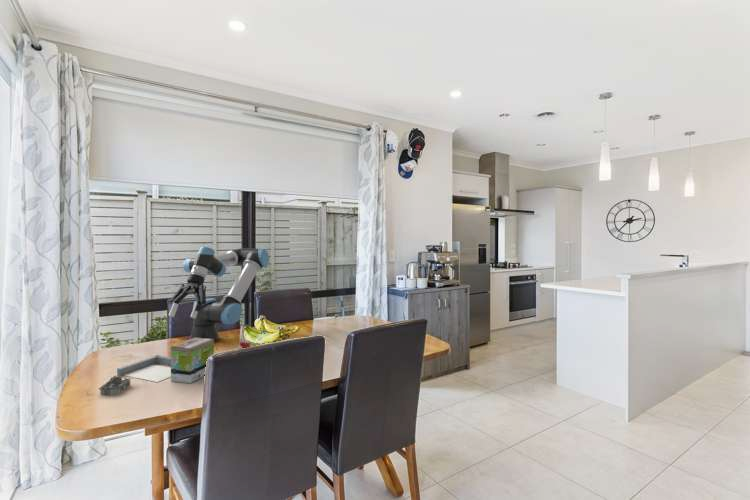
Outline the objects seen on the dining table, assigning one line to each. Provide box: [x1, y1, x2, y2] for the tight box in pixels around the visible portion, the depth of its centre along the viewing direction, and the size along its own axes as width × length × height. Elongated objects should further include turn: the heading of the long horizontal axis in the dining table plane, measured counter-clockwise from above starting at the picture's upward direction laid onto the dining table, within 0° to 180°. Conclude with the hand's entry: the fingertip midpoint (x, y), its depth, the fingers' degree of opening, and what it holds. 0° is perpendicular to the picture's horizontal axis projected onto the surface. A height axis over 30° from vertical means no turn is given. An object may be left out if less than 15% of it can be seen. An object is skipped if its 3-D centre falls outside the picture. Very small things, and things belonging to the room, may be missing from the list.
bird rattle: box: [237, 341, 251, 349], centre depth 177 cm, size 6×11×9 cm
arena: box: [116, 354, 171, 383], centre depth 166 cm, size 20×22×3 cm
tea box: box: [170, 337, 215, 384], centre depth 162 cm, size 15×10×15 cm, turn 168°
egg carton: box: [98, 375, 131, 396], centre depth 146 cm, size 11×8×4 cm
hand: (181, 317), depth 180 cm, fingers open, 13 cm apart
